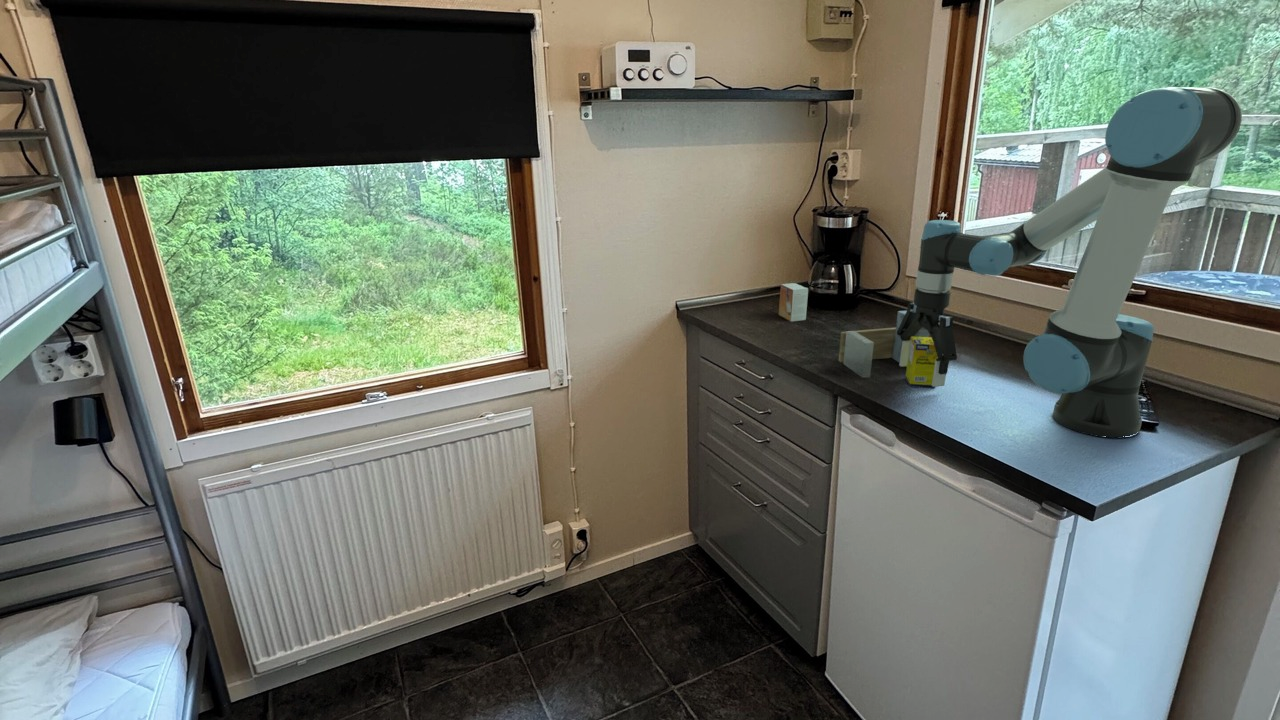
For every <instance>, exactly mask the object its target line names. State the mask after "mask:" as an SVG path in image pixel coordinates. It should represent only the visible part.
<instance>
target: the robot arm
mask: <svg viewBox="0 0 1280 720" xmlns="http://www.w3.org/2000/svg"><path fill="white" fill-rule="evenodd" d="M1242 117H1243V116H1242V108H1241V106H1240V104H1239V102H1238V101H1237V99H1236V98H1235V97H1234V96H1232V95H1231V94H1230V93H1229V92H1226V91H1225V90H1222V89H1220V88H1215V87H1208V86H1207V87H1202V86H1201V87H1181V86H1163V87H1159V88H1153V89H1148V90H1146V91H1143V92H1140V93H1138V94H1137V95H1134V96H1133V97H1131V98H1129V99H1128V100H1126V101H1125V102H1124V103H1123V104H1122V105H1121V106H1120V107H1118V108H1117V109H1116V111H1115V113H1114V114H1113V115H1112V117H1111V119H1110V120H1109V122H1108V124H1107V128H1106V130H1105V137H1104V142H1105V146H1106V147H1107V149H1108V154H1109V155H1110V156H1109V160H1108V162H1107V165H1106V167H1104V168H1103V169H1101V170H1100V171H1097V173H1096V174H1094V175H1092V176H1090V178H1087V180H1085V181H1084V182H1082V183H1081V184H1079V185H1077V186H1076V187H1075V188H1073V189H1072V190H1070V191H1069V192H1068V193H1066V194H1065V195H1063V196H1061V197H1060V198H1059V199H1057V200H1056V201H1054V202H1053V203H1051V204H1050V205H1049V206H1047V207H1045V208H1044V209H1043V210H1041V211H1039V212H1038V213H1036V214H1035V215H1033V216H1032V217H1031V218H1029V219H1027V220H1026V221H1024V222H1023V223H1022V224H1020V225H1019V226H1018V227H1016V228H1014V229H1013V230H1011V231H1009V232H1002V233H995V234H988V235H986V234H985V235H974V234H968V233H963V232H961V231H962V230H961V223H960V222H958V221H955V220H949V219H948V220H947V219H933V220H929V221H927V222H926V223H925V224H924V227H923V231H922V236H921V239H920V252H919V262H918V267H917V272H916V279H915V287H916V289H914V294H913V302H909V303H908V304H907V308H906V309H907V310H906V311H907V312H906V314H905V316H904V318H903V320H902V322H901V324H900V326H899V328H898V331H897V335H900V336H901V340H902V344H901V355H900V363H899V362H898V363H899V367H906V366H907V362H908V354H909V346H910V338H911V337H912V336H915V334H916V333H917V332H918V331H919V330H920V329H921V328H922V327H924V328H925V329H927V330H928V332H929V334H930V337H932V339H933V342H934V346H935V349H936V352H937V356H938V358H937V359H936V360H935V367H934V373H933V380H932V386H933V387H935V388H936V387H944V386H945V383H946V375H947V374H948V369H949V363H950V362H951V361H957V359H958V356H957V349H956V342H955V334H954V328H953V324H954V318H953V316H945V315H944V310H946V308H949V306H950V298H951V291H950V290H952V283H953V278H954V272H955V269H959V270H963V271H967V272H972V273H975V274H979V275H981V276H986V275H987V276H991V277H992V276H994V277H995V276H996V277H998V276H1000V275H1002V274H1004V272H1005V271H1007V270H1008V269H1009V268H1012V267H1019V266H1028V265H1030V264H1033V263H1036V262H1038V261H1041V260H1042V259H1043V258H1044V257H1045V255H1046V254H1047V252H1048V250H1050V249H1051V248H1054V246H1057V245H1058V244H1060V243H1061V242H1063V241H1065V240H1066V239H1068V238H1069V237H1071V236H1073V235H1074V234H1076V233H1078V232H1079V231H1081V230H1082V229H1084V228H1086V227H1088V226H1089V225H1091V224H1092V223H1094V222H1095V223H1094V226H1093V230H1092V231H1091V234H1090V237H1089V239H1088V242H1087V245H1086V247H1085V250H1084V253H1083V255H1082V257H1081V260H1080V262H1079V265H1078V269H1077V271H1076V273H1075V275H1074V278H1073V280H1072V283H1071V286H1070V289H1069V291H1068V293H1067V296H1066V298H1065V301H1064V303H1063V307H1062V308H1061V309H1058V310H1056V311H1053V312H1051V314H1050V315H1049V317H1048V319H1047V323H1046V325H1045V327H1044V329H1043V332H1042V334H1040V335H1037V336H1035V337H1034V338H1033V339H1031V340H1030V341H1029V342H1028V343H1027V345H1026V347H1025V349H1024V350H1023V366H1024V369H1025V371H1026V372H1027V373H1028V377H1029V378H1030V379H1031V381H1032V382H1034V384H1035V385H1036V386H1037V387H1039V388H1041V389H1042V390H1043V391H1047V392H1050V393H1053V394H1061V395H1060V397H1059V399H1058V400H1056V401H1055V404H1054V406H1053V410H1052V417H1053V419H1054V420H1055V421H1056V422H1057V423H1059V424H1060V425H1062V426H1064V427H1066V428H1068V429H1070V430H1072V429H1073V430H1072V431H1075V432H1078V431H1079V432H1078V433H1081V432H1083V433H1082V434H1085V433H1086V434H1085V435H1089V434H1092V435H1091V436H1093V435H1097V436H1096V437H1098V436H1106V437H1123V436H1124V437H1125V436H1130V435H1133V434H1136V433H1137V432H1139V433H1140V431H1139V430H1141V427H1142V423H1143V422H1142V421H1143V420H1142V416H1141V415H1140V404H1139V392H1140V387H1141V384H1142V380H1143V376H1144V373H1145V369H1146V365H1147V361H1148V358H1149V354H1150V349H1151V346H1152V343H1153V342H1154V337H1153V336H1154V332H1155V328H1154V325H1153V324H1152V323H1151V322H1150V321H1148V320H1145V319H1143V318H1139V317H1135V316H1131V315H1126V314H1122V313H1121V311H1122V308H1123V306H1124V304H1125V301H1126V299H1127V296H1128V294H1129V291H1130V289H1131V287H1132V285H1133V282H1134V280H1135V278H1136V275H1137V274H1138V271H1139V269H1140V266H1141V264H1142V262H1143V259H1144V257H1145V255H1146V253H1147V251H1148V248H1149V246H1150V244H1151V242H1152V239H1153V237H1154V234H1155V232H1156V230H1157V227H1158V225H1159V223H1160V220H1161V218H1162V216H1163V214H1164V212H1165V209H1166V207H1167V205H1168V202H1169V201H1170V197H1171V195H1172V193H1173V191H1175V190H1176V189H1178V188H1179V187H1181V186H1184V185H1186V184H1188V183H1189V181H1190V180H1191V177H1192V175H1193V172H1194V170H1195V169H1196V167H1197V166H1199V165H1201V164H1203V163H1204V162H1206V161H1208V160H1209V159H1212V158H1214V157H1215V156H1217V155H1218V154H1220V153H1221V152H1222V151H1223V150H1225V149H1227V147H1229V145H1230V144H1232V142H1233V140H1235V138H1236V136H1238V133H1239V131H1240V128H1241V124H1242V121H1243V118H1242ZM1120 313H1121V314H1120ZM903 329H905V330H903ZM1106 437H1105V438H1106Z"/></svg>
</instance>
